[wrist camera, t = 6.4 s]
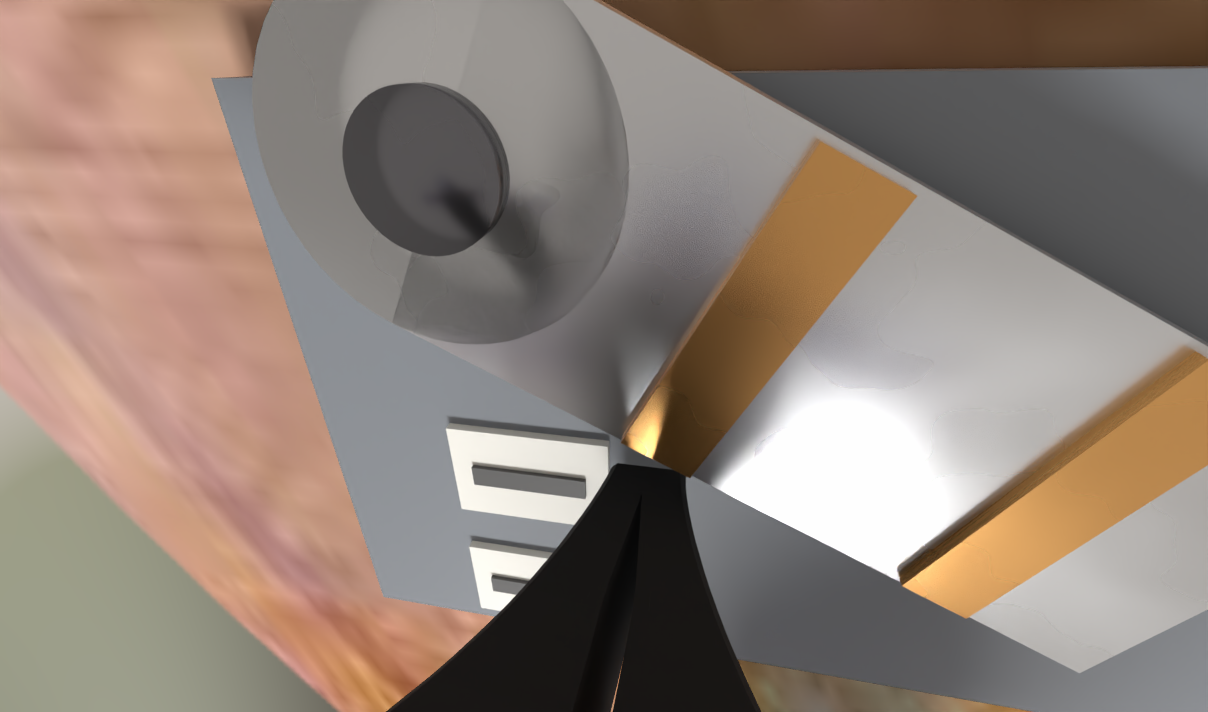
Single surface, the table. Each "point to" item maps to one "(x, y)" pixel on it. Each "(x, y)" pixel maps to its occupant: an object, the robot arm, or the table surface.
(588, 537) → the robot arm
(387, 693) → the table surface
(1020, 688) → the label board
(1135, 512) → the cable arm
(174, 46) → the table surface
